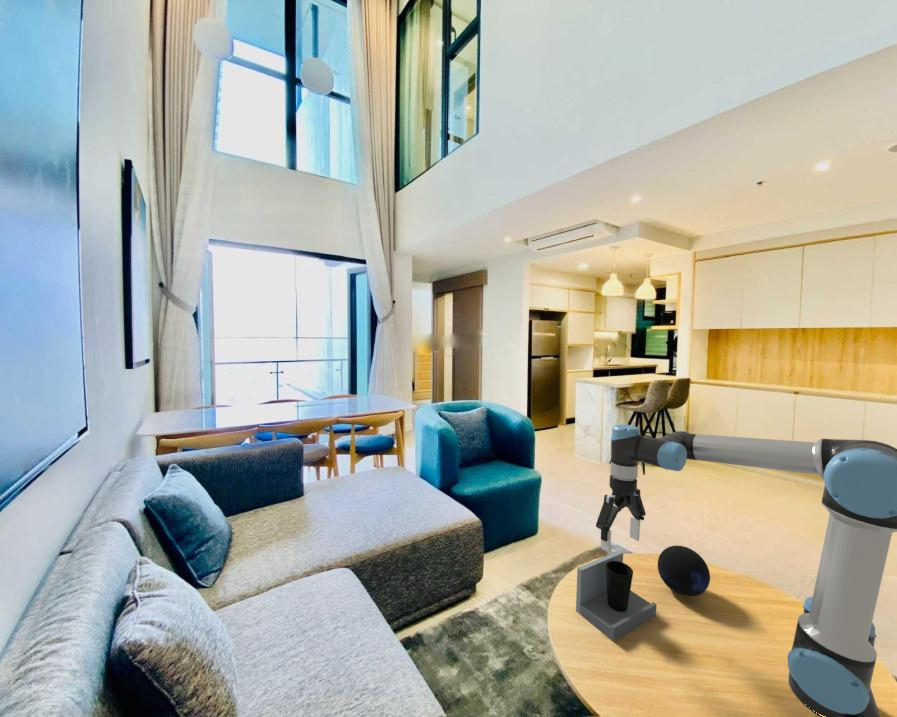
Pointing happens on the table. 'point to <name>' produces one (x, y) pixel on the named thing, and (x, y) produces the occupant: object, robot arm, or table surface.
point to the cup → (618, 585)
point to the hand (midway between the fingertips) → (620, 544)
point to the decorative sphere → (683, 571)
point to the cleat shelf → (596, 604)
